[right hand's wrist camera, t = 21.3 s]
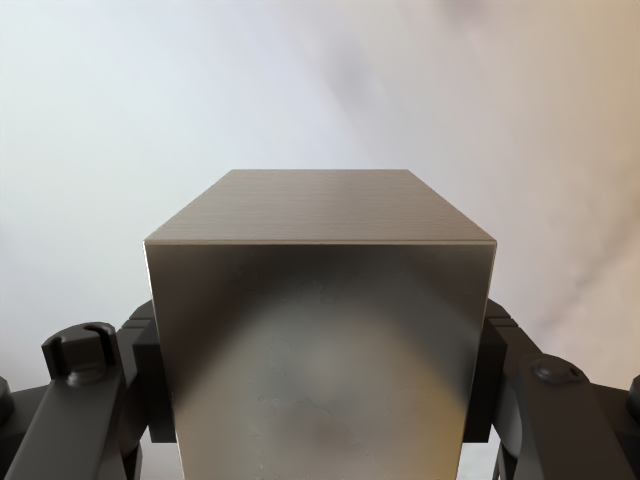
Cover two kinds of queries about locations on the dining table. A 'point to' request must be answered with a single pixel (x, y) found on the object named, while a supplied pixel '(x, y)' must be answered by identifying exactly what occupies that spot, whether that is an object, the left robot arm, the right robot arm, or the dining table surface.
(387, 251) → the metallic grey cube
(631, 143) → the dining table surface
